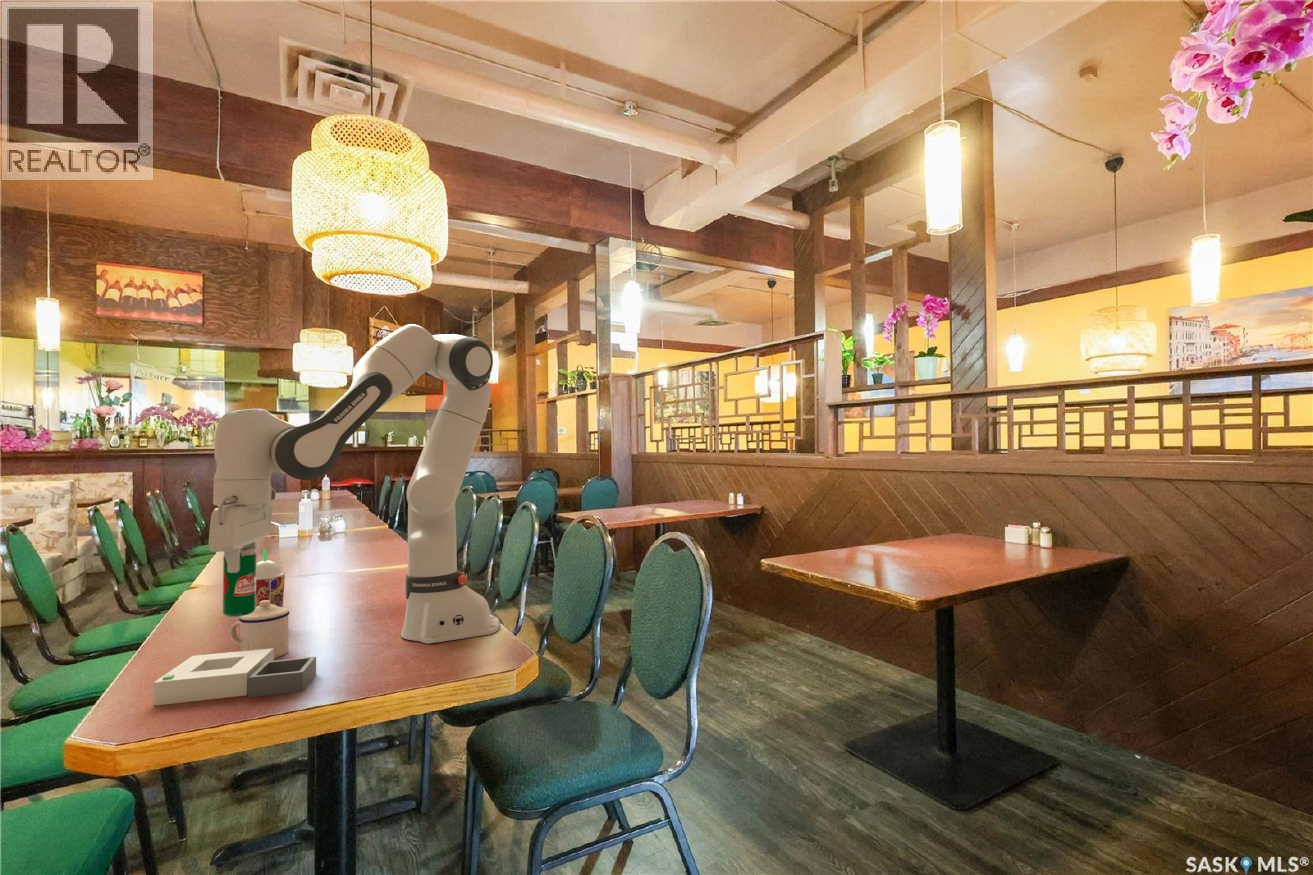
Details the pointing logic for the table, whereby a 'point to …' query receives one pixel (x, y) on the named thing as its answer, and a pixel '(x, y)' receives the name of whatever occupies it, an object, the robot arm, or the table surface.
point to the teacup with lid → (263, 629)
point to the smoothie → (269, 582)
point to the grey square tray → (282, 676)
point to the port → (210, 677)
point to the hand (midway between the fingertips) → (240, 568)
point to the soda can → (240, 586)
